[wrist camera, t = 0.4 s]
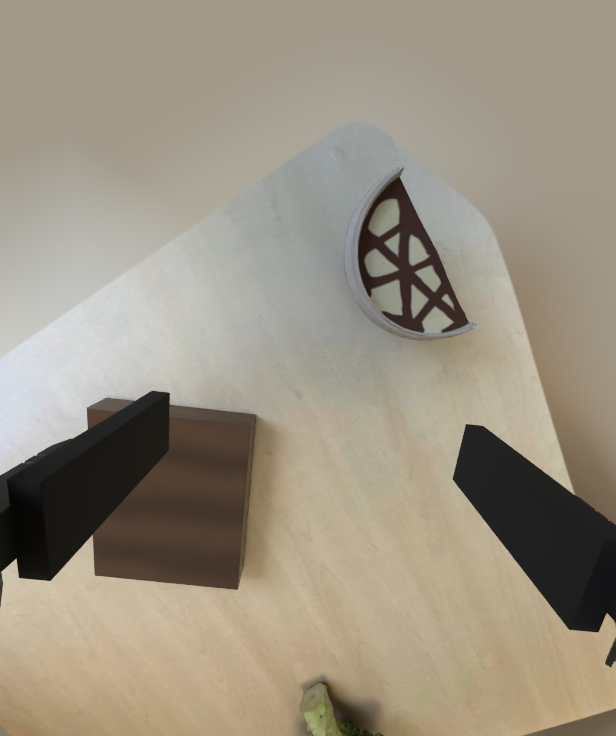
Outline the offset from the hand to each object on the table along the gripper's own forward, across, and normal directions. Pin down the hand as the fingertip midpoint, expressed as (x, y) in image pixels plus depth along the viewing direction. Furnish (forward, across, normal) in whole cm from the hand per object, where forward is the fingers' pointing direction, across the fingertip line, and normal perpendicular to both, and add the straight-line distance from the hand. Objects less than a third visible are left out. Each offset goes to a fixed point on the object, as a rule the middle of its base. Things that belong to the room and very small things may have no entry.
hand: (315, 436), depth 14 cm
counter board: (+19, -13, -17) cm, 29 cm away
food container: (+19, +5, +8) cm, 21 cm away
